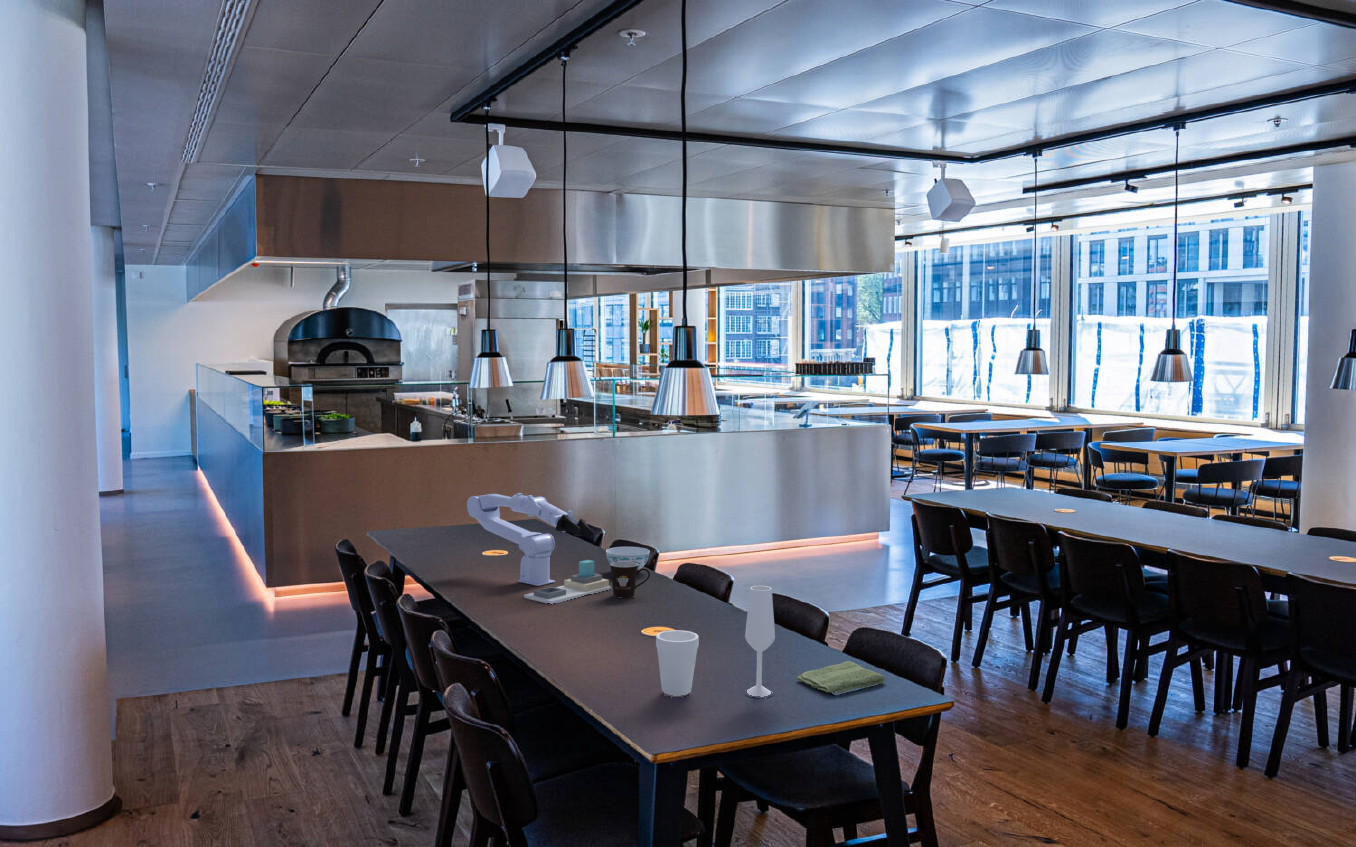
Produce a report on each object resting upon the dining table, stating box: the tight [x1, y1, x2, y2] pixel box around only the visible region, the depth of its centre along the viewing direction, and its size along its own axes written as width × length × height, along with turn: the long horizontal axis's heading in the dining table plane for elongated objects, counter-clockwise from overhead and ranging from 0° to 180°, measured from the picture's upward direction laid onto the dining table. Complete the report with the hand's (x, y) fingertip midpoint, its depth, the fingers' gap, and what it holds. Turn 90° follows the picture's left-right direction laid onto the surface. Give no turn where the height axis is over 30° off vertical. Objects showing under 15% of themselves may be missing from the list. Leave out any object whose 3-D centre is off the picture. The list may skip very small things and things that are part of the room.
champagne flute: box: [744, 585, 776, 697], centre depth 228 cm, size 7×7×24 cm
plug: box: [578, 559, 596, 578], centre depth 325 cm, size 3×4×6 cm
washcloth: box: [796, 660, 886, 694], centre depth 237 cm, size 13×18×3 cm
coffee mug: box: [609, 561, 651, 599], centre depth 317 cm, size 12×9×10 cm
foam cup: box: [655, 629, 700, 696], centre depth 228 cm, size 10×9×13 cm
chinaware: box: [605, 546, 651, 570], centre depth 350 cm, size 15×15×8 cm
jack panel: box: [524, 572, 612, 605], centre depth 319 cm, size 12×26×4 cm, turn 141°
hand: (585, 533), depth 321 cm, fingers open, 7 cm apart
